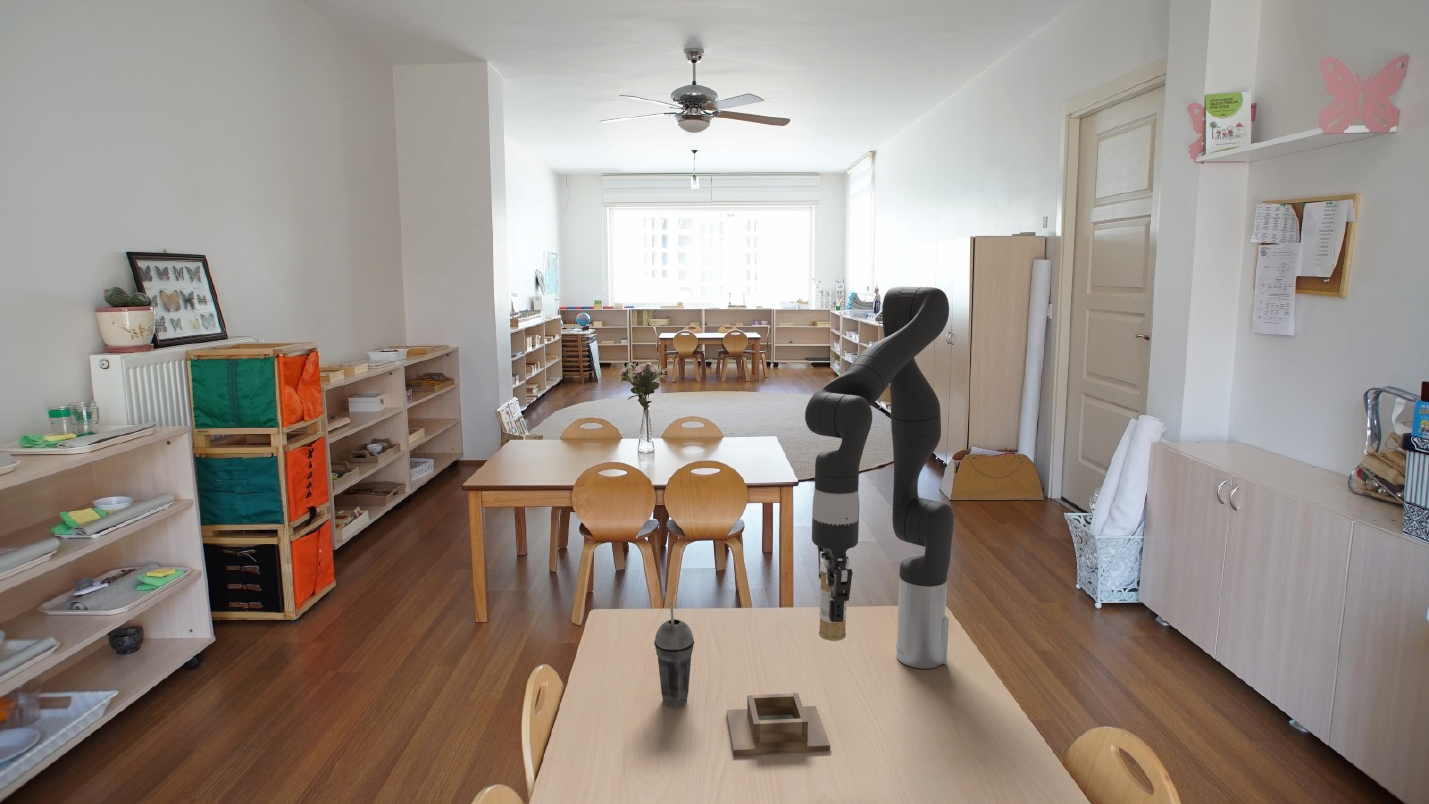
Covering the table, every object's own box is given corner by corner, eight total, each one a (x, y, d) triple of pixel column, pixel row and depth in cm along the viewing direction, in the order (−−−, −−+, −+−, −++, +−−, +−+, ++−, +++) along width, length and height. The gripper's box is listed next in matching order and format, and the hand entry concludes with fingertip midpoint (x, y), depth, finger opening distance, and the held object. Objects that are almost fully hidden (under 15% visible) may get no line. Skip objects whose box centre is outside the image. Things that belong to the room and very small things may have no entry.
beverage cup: (700, 694, 150) (699, 592, 146) (686, 714, 143) (685, 608, 140) (664, 687, 152) (662, 587, 149) (648, 707, 145) (646, 603, 142)
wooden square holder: (815, 711, 144) (815, 687, 143) (830, 750, 132) (830, 725, 131) (726, 715, 143) (726, 691, 142) (733, 755, 131) (733, 730, 130)
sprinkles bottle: (851, 637, 133) (854, 560, 131) (831, 644, 131) (833, 565, 129) (832, 627, 137) (835, 552, 135) (812, 634, 134) (814, 557, 132)
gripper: (870, 528, 124) (866, 633, 127) (846, 502, 138) (843, 596, 141) (822, 529, 123) (820, 634, 126) (803, 503, 137) (801, 598, 140)
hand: (832, 614), depth 133 cm, fingers closed on sprinkles bottle, 4 cm apart
